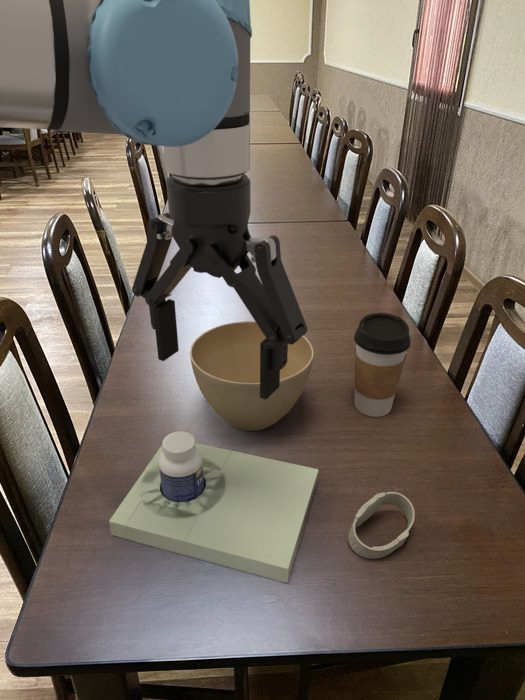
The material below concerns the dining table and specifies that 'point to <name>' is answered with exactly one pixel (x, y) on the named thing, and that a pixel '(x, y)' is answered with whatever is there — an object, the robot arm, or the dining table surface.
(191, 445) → the pill bottle
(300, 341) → the tan round bowl
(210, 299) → the dining table surface
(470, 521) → the dining table surface
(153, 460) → the pale green flat block
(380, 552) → the wristwatch
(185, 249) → the robot arm
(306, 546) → the dining table surface
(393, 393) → the coffee cup
